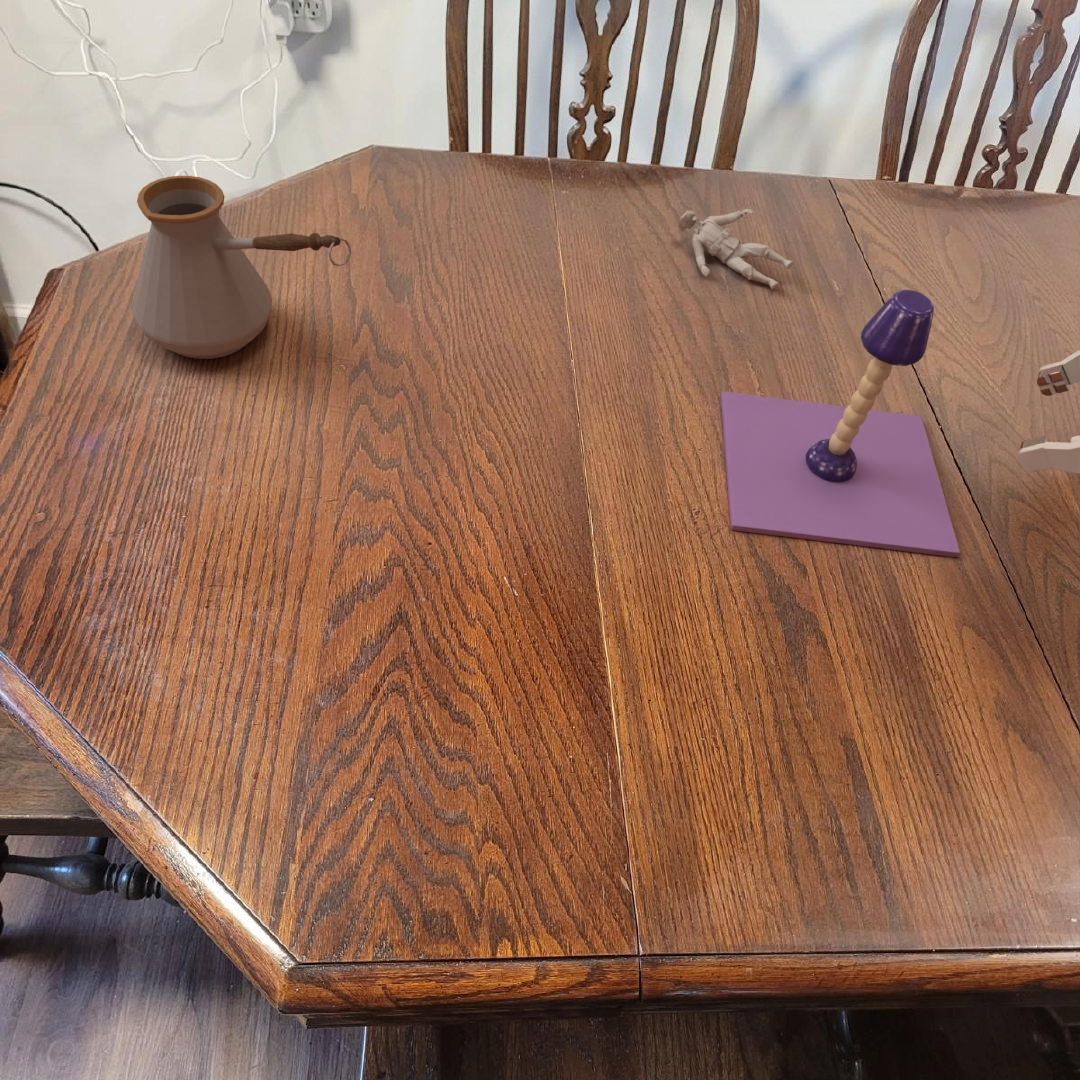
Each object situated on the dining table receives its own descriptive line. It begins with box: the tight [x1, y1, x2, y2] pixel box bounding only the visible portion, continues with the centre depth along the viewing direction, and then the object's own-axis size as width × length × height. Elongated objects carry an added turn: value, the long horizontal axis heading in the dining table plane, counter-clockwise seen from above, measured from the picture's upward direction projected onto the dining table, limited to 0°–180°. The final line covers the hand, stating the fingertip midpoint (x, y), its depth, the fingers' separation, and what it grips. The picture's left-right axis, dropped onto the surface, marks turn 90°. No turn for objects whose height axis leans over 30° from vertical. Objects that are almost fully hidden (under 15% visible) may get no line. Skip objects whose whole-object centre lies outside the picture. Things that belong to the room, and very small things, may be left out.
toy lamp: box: [806, 289, 935, 482], centre depth 72 cm, size 5×5×17 cm
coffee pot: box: [131, 175, 352, 360], centre depth 76 cm, size 21×12×15 cm, turn 61°
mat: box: [720, 390, 961, 558], centre depth 78 cm, size 18×16×1 cm
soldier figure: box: [678, 208, 795, 290], centre depth 96 cm, size 8×5×12 cm
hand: (1031, 418), depth 68 cm, fingers open, 8 cm apart
